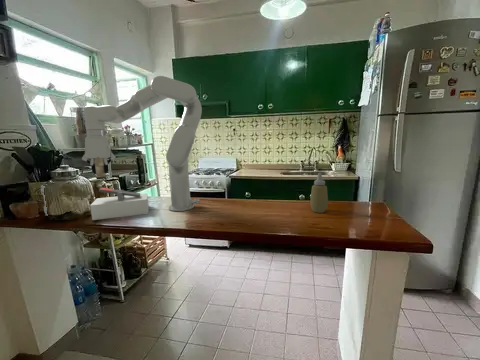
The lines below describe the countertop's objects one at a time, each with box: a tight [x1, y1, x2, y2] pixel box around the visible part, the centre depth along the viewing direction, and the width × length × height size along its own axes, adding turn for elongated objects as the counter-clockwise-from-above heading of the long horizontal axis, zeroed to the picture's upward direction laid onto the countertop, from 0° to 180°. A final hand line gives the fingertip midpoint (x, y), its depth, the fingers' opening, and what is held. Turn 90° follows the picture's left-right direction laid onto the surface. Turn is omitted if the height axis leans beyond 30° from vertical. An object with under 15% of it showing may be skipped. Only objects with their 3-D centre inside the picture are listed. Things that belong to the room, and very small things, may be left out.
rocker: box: [98, 187, 141, 197], centre depth 119 cm, size 18×5×1 cm, turn 110°
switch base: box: [89, 189, 150, 221], centre depth 120 cm, size 24×14×11 cm, turn 110°
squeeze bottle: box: [309, 172, 329, 214], centre depth 112 cm, size 8×8×18 cm
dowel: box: [94, 157, 107, 180], centre depth 115 cm, size 4×4×12 cm
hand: (100, 172), depth 115 cm, fingers closed on dowel, 4 cm apart
